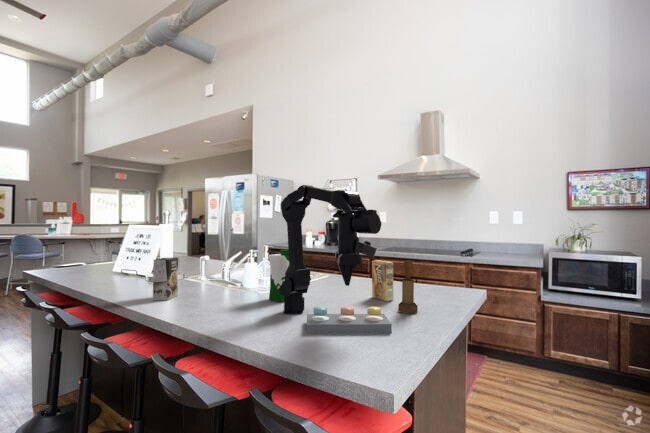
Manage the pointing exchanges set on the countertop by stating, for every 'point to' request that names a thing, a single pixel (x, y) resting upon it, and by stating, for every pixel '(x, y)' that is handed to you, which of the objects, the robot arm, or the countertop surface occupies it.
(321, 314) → the teal button
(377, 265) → the candy box
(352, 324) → the button console
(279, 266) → the milk carton
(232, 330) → the countertop surface
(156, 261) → the coffee box
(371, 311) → the mustard button
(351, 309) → the terracotta button
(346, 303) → the countertop surface
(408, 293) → the brown stepped post
